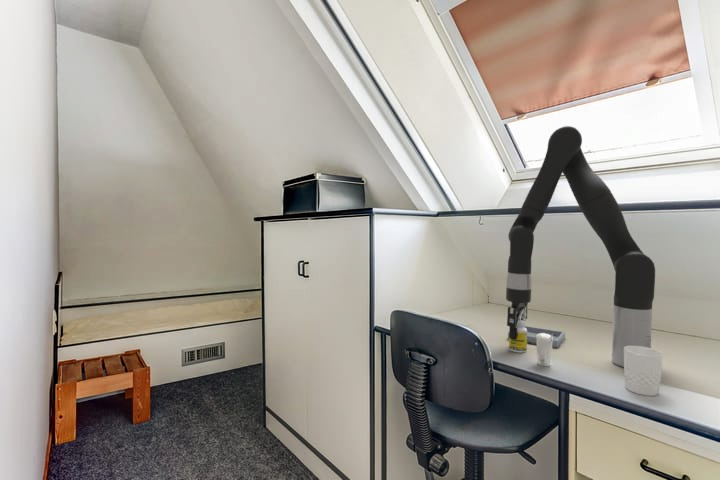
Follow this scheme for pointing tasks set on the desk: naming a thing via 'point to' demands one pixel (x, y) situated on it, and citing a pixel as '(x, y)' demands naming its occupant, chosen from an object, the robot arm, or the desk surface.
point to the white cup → (642, 370)
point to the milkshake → (544, 348)
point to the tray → (557, 335)
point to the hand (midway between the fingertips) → (516, 335)
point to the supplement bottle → (519, 339)
